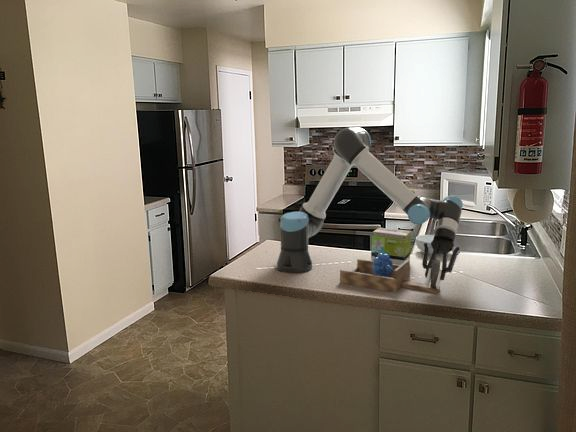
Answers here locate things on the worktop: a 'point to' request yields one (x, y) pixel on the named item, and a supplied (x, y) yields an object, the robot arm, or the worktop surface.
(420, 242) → the cereal bowl
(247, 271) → the worktop surface
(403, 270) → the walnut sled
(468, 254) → the worktop surface
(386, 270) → the grapes
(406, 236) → the tea box
